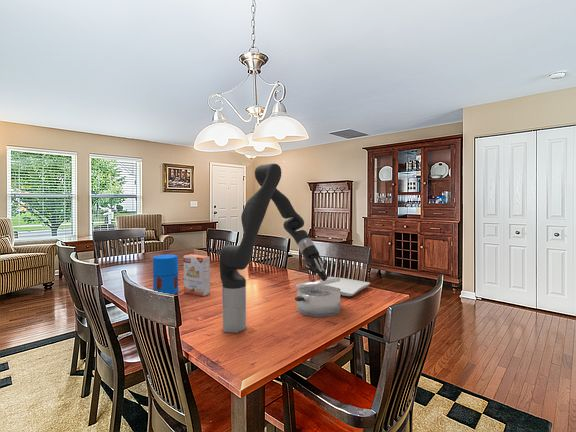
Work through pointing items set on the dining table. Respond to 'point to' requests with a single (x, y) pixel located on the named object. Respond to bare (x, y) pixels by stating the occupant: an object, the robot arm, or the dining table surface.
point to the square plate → (348, 286)
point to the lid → (317, 282)
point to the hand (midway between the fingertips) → (325, 279)
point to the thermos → (165, 274)
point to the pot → (318, 301)
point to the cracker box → (197, 274)
